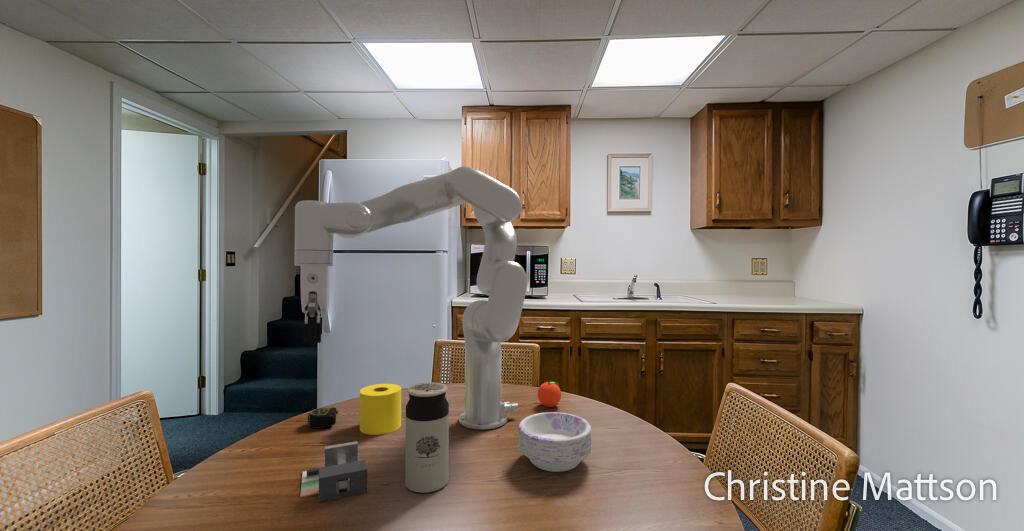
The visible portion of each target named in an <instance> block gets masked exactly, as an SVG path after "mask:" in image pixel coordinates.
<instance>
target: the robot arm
mask: <svg viewBox="0 0 1024 531" xmlns="http://www.w3.org/2000/svg"><path fill="white" fill-rule="evenodd" d="M464 204H469V205H471V206H473V207H472V208H473V214H474V217H475V219H476V220H477V221H478V223H479V224H480V226H481V228H482V230H483V232H484V238H485V241H484V246H483V251H482V256H481V260H480V265H479V266H478V267H479V268H478V271H477V276H476V286H477V289H478V290H479V291H480V292H481V293H482V294H484V295H486V296H488V299H487V300H485V299H482V300H479V299H478V300H475V301H473V302H471V303H469V304H468V306H466V308H465V309H464V311H463V314H462V321H461V322H462V324H461V325H462V332H463V339H464V362H465V363H464V364H465V365H464V412H462V413H460V414H459V416H458V423H459V424H460V425H461V426H463V427H464V428H468V429H472V430H479V431H480V430H481V431H482V430H493V429H496V428H500V427H502V426H503V425H505V424H506V423H507V421H508V417H507V416H508V415H507V414H508V412H514V411H515V412H516V411H519V403H517V402H513V403H512V402H511V403H510V401H502V357H503V356H502V345H501V343H504V342H505V343H506V342H507V341H508V340H511V338H512V337H513V336H514V335H515V333H516V332H517V328H518V327H519V323H520V319H521V316H522V312H523V308H524V307H523V306H524V303H525V298H526V294H527V289H528V278H527V273H526V271H525V269H524V267H523V266H522V265H521V264H520V263H518V262H515V258H516V252H517V245H518V238H517V233H516V231H515V227H514V225H513V223H512V222H513V221H515V220H516V219H517V218H519V216H520V214H521V212H522V208H523V207H522V206H523V204H522V200H521V197H520V196H519V194H518V193H517V192H516V191H515V190H514V189H512V188H511V187H509V186H508V185H505V184H504V183H502V182H500V181H499V180H497V179H494V178H493V177H491V176H489V175H487V174H485V173H484V172H482V171H480V170H478V169H476V168H474V167H471V166H459V167H457V168H455V169H453V170H451V171H449V172H446V173H442V174H439V175H436V176H432V177H429V178H425V179H422V180H418V181H414V182H411V183H407V184H404V185H401V186H399V187H397V188H394V189H393V190H390V191H389V192H387V193H384V194H383V195H382V194H381V195H380V196H378V197H374V198H370V199H368V200H365V201H364V200H363V201H361V202H357V201H348V202H347V201H346V202H345V201H344V202H326V201H320V200H301V201H298V202H297V203H296V204H295V207H294V265H293V266H294V267H296V266H298V267H300V301H301V303H300V304H301V305H300V306H301V312H302V313H304V323H303V343H304V344H305V345H307V344H308V345H309V344H320V343H321V342H322V335H323V317H322V311H323V312H324V314H326V313H327V312H328V310H329V269H328V268H329V267H333V266H334V235H335V234H336V235H338V236H339V237H342V238H344V239H354V238H357V237H361V236H363V235H366V234H368V233H371V232H375V231H378V230H382V229H384V228H387V227H390V226H395V225H398V224H405V223H408V222H412V221H415V220H419V219H422V218H424V217H428V216H431V215H435V214H437V213H441V212H443V211H447V210H449V209H452V208H455V207H458V206H462V205H464Z"/></svg>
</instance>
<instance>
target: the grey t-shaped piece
mask: <svg viewBox="0 0 1024 531" xmlns="http://www.w3.org/2000/svg"><path fill="white" fill-rule="evenodd" d="M358 447H359V443H358V441H356V440H355V441H352V442H351V441H350V442H346V443H339V444H332V445H326V446H325V445H324V467H327V466H333V465H338V464H344V463H349V462H355V461H359V460H358V459H359V455H358V452H359V450H358ZM319 468H320V467H318V468H313V469H307V470H306V471H307V477H308V476H313V475H319ZM348 480H349V478H345V479H340V480H338V482H339V489H344V488H348Z"/></svg>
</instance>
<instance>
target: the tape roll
mask: <svg viewBox="0 0 1024 531" xmlns="http://www.w3.org/2000/svg"><path fill="white" fill-rule="evenodd" d="M401 426H402V386H400V385H398V384H394V383H375V384H371V385H366V386H365V387H363V388H361V389H360V390H359V431H360V432H361V433H362V434H366V435H370V436H373V435H385V434H389V433H392V432H395V431H397V430H399V429H400V428H401Z"/></svg>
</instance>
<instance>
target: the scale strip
mask: <svg viewBox="0 0 1024 531" xmlns="http://www.w3.org/2000/svg"><path fill="white" fill-rule="evenodd" d="M300 486H301V487H300V493H299V494H300V495H299V496H300V497H299V498H305V497H309V496H316V495H319V475H313V476H308V477H307V470H304V471H302V477H301V485H300Z"/></svg>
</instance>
